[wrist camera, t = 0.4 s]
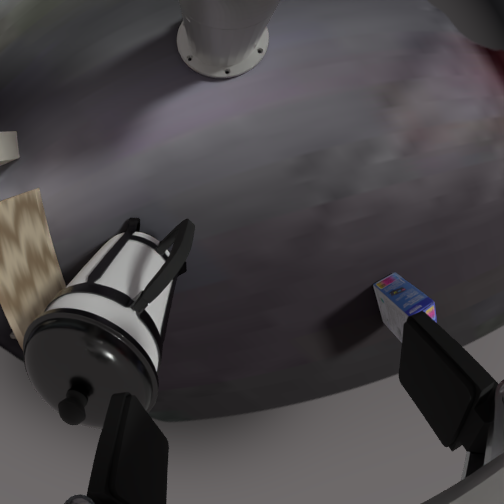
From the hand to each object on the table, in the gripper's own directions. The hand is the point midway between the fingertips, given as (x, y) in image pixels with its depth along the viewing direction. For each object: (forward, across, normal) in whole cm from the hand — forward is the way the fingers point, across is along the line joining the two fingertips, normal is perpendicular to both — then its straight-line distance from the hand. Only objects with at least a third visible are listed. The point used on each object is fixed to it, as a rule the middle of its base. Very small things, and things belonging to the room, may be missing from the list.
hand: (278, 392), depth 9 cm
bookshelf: (+36, +35, 0) cm, 50 cm away
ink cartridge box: (+36, -25, +25) cm, 50 cm away
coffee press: (+36, +14, +6) cm, 39 cm away
